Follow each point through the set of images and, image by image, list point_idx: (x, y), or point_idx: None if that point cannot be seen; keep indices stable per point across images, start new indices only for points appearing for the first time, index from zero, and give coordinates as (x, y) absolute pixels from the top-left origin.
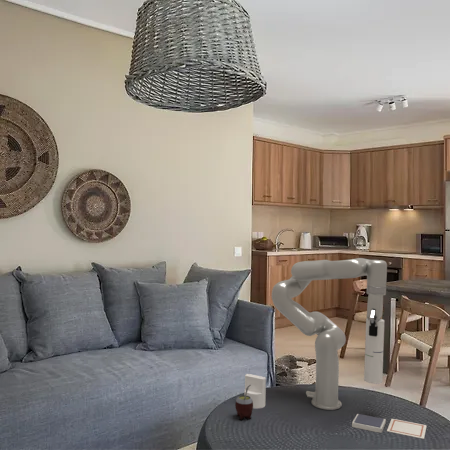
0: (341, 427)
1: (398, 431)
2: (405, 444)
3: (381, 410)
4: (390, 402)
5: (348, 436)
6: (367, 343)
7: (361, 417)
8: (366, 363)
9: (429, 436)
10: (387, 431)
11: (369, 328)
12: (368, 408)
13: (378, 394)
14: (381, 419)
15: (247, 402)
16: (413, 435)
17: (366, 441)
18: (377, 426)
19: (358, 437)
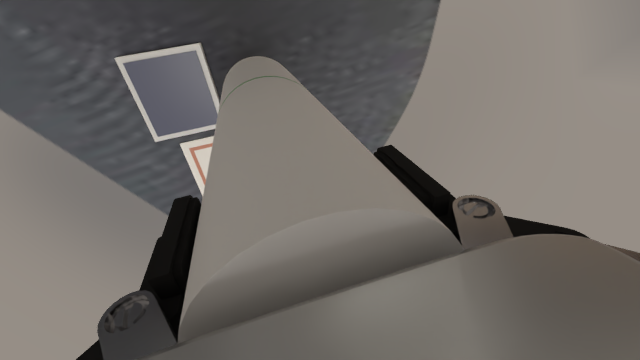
0: (82, 28)
1: (199, 165)
2: (147, 197)
3: (305, 81)
4: (375, 80)
5: (43, 75)
6: (216, 134)
7: (175, 69)
8: (223, 92)
9: None
10: (180, 144)
11: (160, 252)
12: (295, 44)
13: (420, 28)
14: (210, 120)
15: None
16: None
17: (68, 128)
18: (154, 130)
19: (69, 101)
